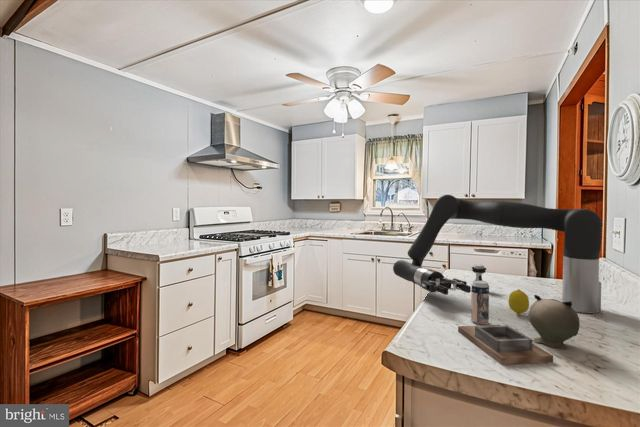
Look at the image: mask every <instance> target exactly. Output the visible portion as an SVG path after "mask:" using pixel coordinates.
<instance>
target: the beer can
mask: <svg viewBox="0 0 640 427" xmlns="http://www.w3.org/2000/svg"><path fill="white" fill-rule="evenodd" d="M470 286H471V297H470V298H471V304H470V321H471V322H473V323H474V324H475V325H488V324H489V316H490V313H489V312H490V311H489V310H490V285H489V283H488V282H487V281H485V280H482V281H480V280H476V279H475V280H473V281H472V283H471V284H470Z"/></svg>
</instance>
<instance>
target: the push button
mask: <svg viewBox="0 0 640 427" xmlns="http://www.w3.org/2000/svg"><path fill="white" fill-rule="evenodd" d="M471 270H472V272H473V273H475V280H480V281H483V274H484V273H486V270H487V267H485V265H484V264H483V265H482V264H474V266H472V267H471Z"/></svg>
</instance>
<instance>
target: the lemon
mask: <svg viewBox="0 0 640 427" xmlns="http://www.w3.org/2000/svg"><path fill="white" fill-rule="evenodd" d="M529 300H530V299H529V296H528V295H527V294H526V293H525V292H524V291H522V290H521V289H519V288H518V289H517V290H513V291H512V292H511V293H510V294H509V296H508V306H509V308H510V309H511V311H513V312H514V313H516V314H517V315H518V316H519V315H521V314H524V313H526V312H527V311H529V310H528V309H529V308H530V307H529V306H530V301H529Z"/></svg>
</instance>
